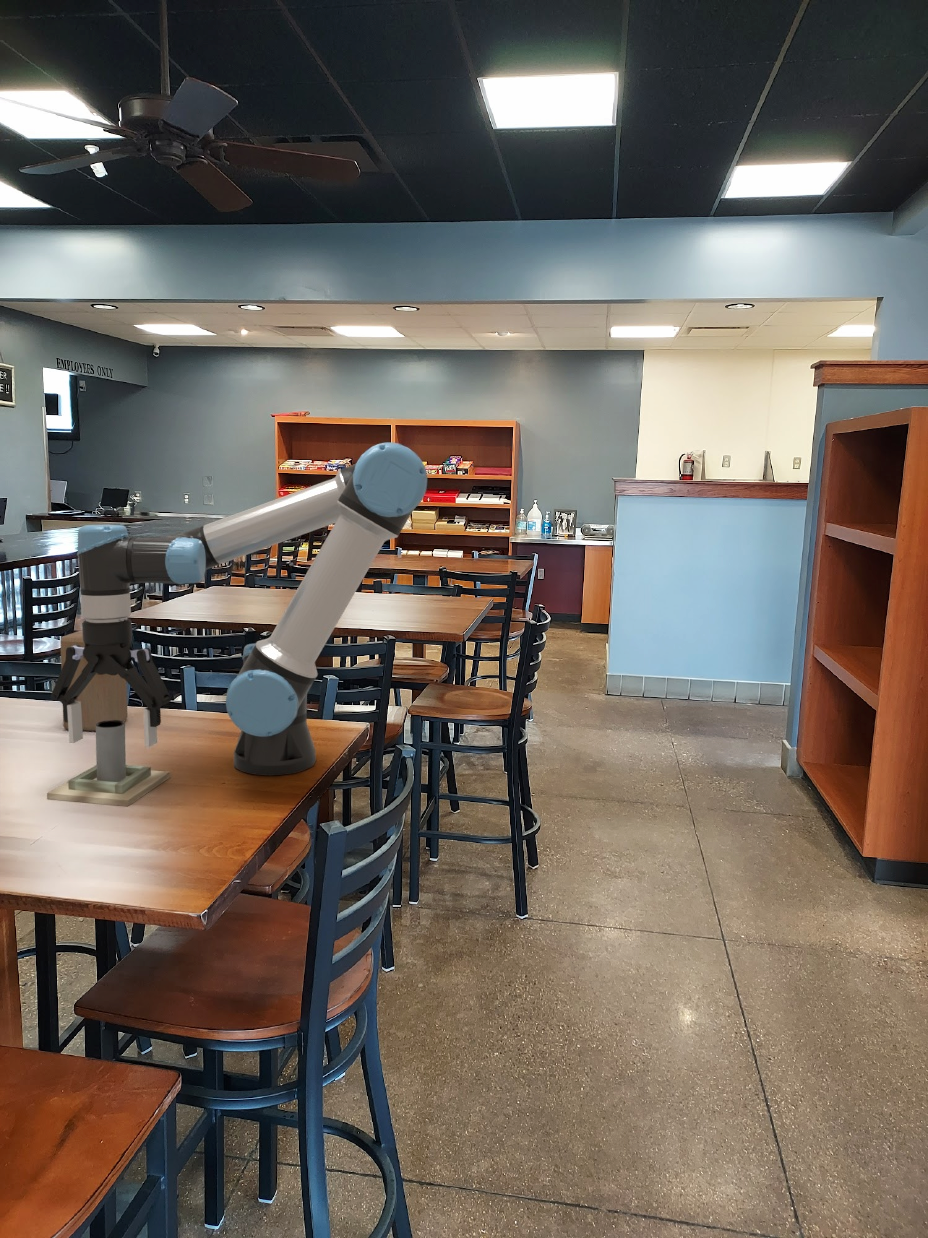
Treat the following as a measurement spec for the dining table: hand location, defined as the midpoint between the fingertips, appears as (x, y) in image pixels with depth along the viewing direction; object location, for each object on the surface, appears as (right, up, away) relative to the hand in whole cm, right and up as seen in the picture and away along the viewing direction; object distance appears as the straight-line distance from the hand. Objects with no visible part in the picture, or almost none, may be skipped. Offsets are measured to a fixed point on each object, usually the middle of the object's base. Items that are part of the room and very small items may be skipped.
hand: (113, 743), depth 137 cm
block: (-19, -2, +36) cm, 41 cm away
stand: (-1, -8, +1) cm, 8 cm away
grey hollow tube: (-1, -7, +1) cm, 7 cm away
